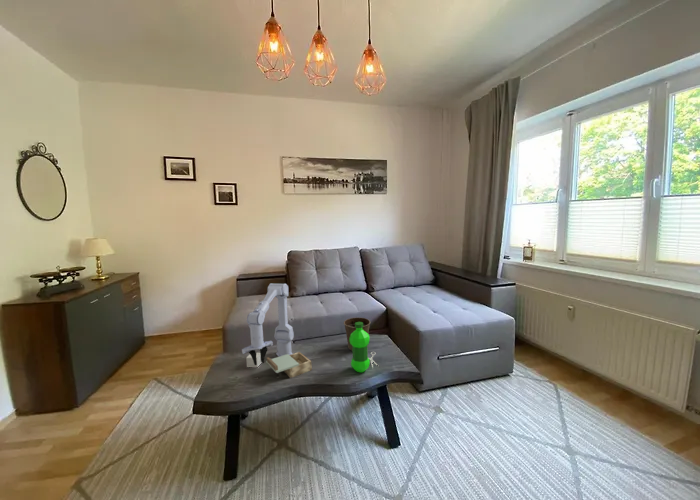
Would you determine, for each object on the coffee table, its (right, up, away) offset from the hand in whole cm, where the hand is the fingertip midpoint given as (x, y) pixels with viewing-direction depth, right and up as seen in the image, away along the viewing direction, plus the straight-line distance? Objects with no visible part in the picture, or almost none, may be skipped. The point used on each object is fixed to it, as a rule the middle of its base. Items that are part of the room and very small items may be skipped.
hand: (258, 363), depth 142 cm
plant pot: (+50, -4, +35) cm, 61 cm away
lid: (+10, -3, +7) cm, 13 cm away
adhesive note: (-8, -8, +17) cm, 21 cm away
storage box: (+16, -8, +12) cm, 21 cm away
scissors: (+56, -6, +19) cm, 60 cm away
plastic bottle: (+50, -7, +8) cm, 51 cm away
